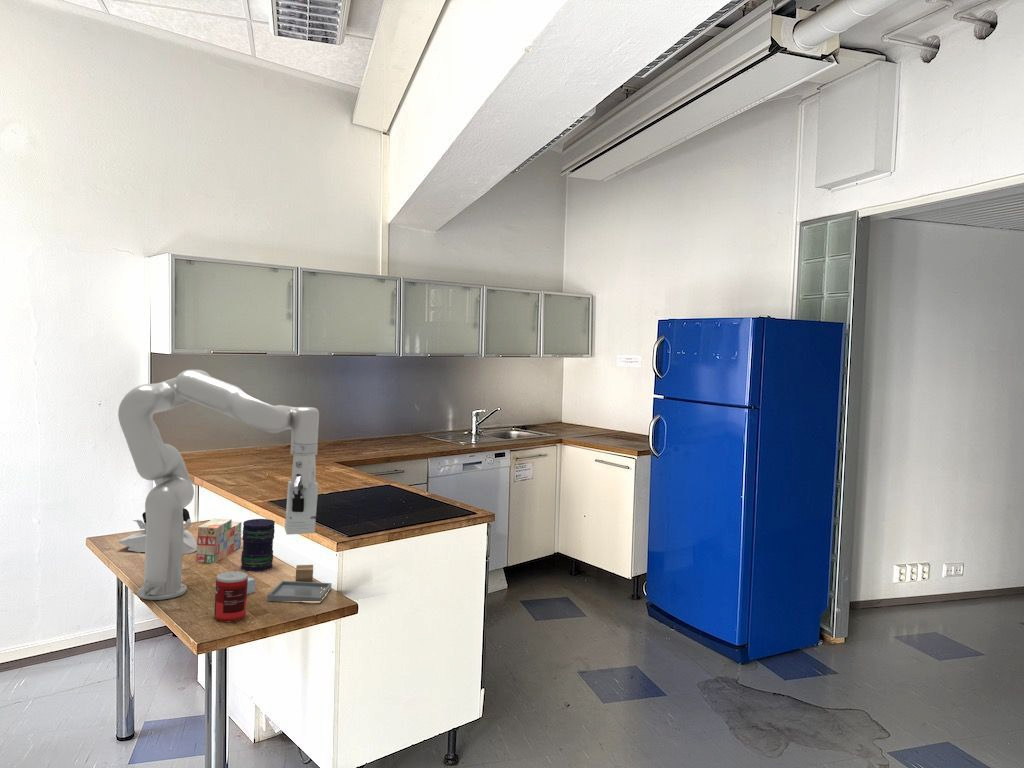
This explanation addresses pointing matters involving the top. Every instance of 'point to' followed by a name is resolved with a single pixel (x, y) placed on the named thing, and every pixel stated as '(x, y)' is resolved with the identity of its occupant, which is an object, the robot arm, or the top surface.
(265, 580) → the top surface
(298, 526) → the skincare box
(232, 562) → the top surface
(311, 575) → the walnut block
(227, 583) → the canned food
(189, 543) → the iron
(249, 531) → the storage jar
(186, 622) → the top surface
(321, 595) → the slate tray
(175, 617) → the top surface
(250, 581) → the blue-grey painted block
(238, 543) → the stack of blocks
